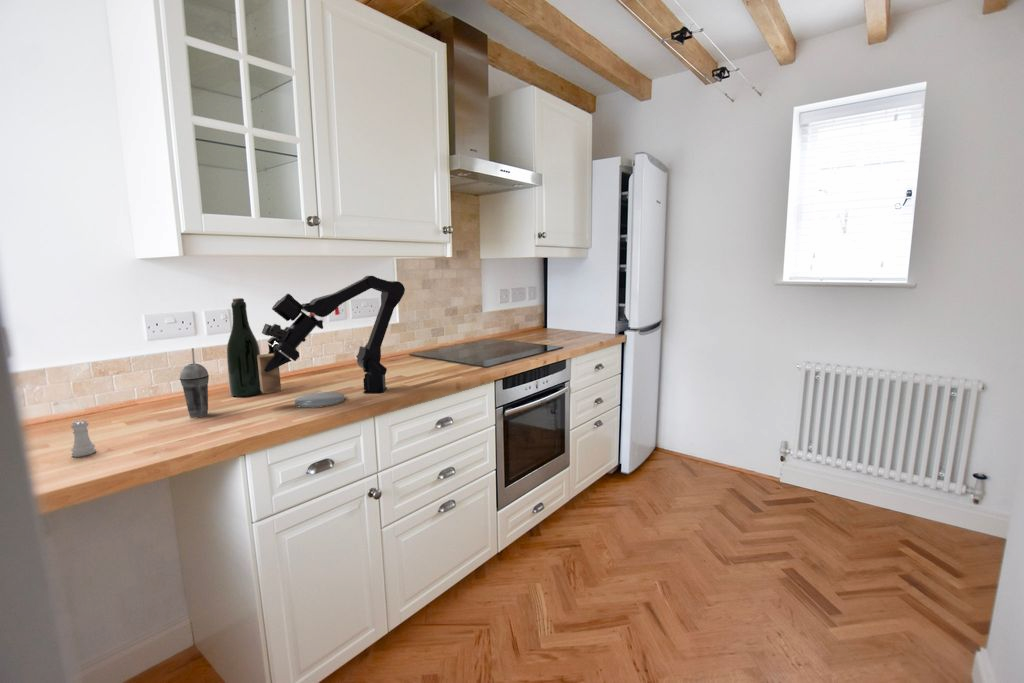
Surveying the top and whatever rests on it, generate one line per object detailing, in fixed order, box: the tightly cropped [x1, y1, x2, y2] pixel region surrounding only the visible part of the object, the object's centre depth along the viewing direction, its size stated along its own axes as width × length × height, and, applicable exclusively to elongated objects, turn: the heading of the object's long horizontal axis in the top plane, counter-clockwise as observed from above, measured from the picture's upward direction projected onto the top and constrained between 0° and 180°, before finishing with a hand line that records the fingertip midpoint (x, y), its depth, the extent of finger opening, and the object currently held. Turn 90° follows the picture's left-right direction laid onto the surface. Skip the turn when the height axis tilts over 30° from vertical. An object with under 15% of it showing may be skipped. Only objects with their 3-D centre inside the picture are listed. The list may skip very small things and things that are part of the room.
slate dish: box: [294, 391, 346, 408], centre depth 158 cm, size 15×15×1 cm
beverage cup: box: [179, 348, 210, 418], centre depth 143 cm, size 7×7×20 cm
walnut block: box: [257, 353, 282, 394], centre depth 150 cm, size 5×5×11 cm
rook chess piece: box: [70, 419, 97, 458], centre depth 115 cm, size 4×4×8 cm
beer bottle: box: [226, 297, 263, 398], centre depth 167 cm, size 10×10×33 cm
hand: (263, 369), depth 149 cm, fingers closed on walnut block, 5 cm apart
